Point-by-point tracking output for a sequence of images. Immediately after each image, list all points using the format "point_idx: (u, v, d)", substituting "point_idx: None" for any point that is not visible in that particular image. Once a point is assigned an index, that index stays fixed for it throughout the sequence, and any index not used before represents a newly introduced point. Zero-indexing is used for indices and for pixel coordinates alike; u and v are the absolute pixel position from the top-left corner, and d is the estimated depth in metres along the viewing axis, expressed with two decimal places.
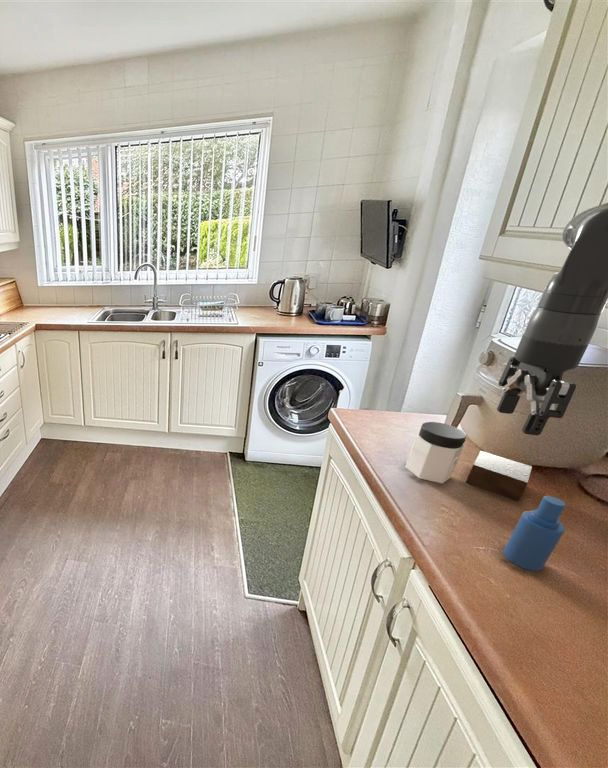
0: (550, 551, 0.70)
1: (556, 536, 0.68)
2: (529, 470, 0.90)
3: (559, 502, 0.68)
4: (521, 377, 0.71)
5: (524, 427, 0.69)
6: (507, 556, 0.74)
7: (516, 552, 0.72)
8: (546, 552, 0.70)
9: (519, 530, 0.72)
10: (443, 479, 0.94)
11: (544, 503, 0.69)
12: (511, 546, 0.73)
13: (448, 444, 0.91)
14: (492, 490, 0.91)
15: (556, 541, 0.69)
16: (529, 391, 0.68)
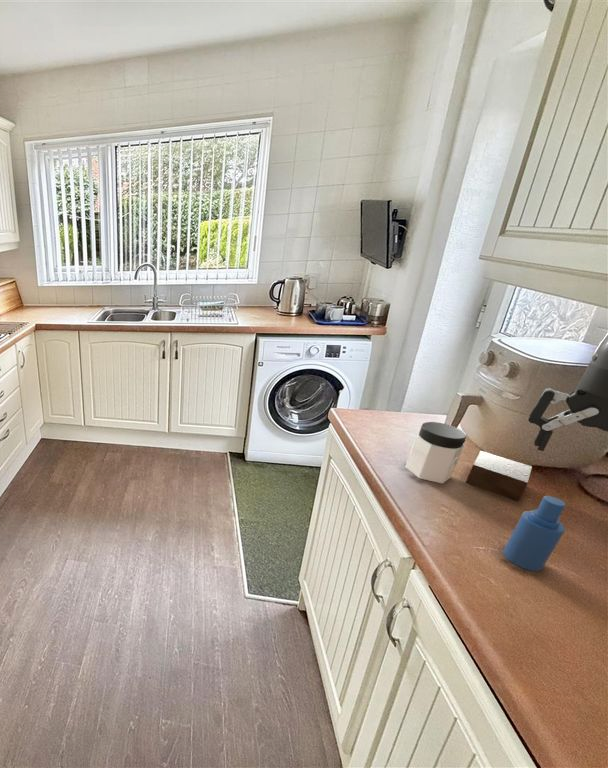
0: (550, 551, 0.70)
1: (556, 536, 0.68)
2: (529, 470, 0.90)
3: (559, 502, 0.68)
4: None
5: None
6: (507, 556, 0.74)
7: (516, 552, 0.72)
8: (546, 552, 0.70)
9: (519, 530, 0.72)
10: (443, 479, 0.94)
11: (544, 503, 0.69)
12: (511, 546, 0.73)
13: (448, 444, 0.91)
14: (492, 490, 0.91)
15: (556, 541, 0.69)
16: None
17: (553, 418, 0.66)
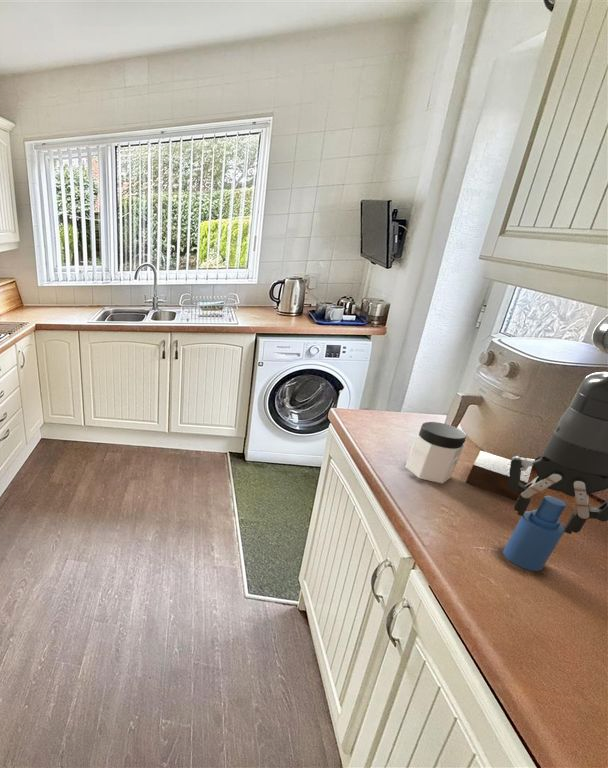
0: (550, 551, 0.70)
1: (556, 536, 0.68)
2: (529, 470, 0.90)
3: (559, 502, 0.68)
4: None
5: (570, 529, 0.67)
6: (507, 556, 0.74)
7: (516, 552, 0.72)
8: (546, 552, 0.70)
9: (520, 530, 0.72)
10: (443, 479, 0.94)
11: (544, 503, 0.69)
12: (511, 546, 0.73)
13: (448, 444, 0.91)
14: (492, 490, 0.91)
15: (556, 541, 0.69)
16: (581, 497, 0.65)
17: (529, 485, 0.71)
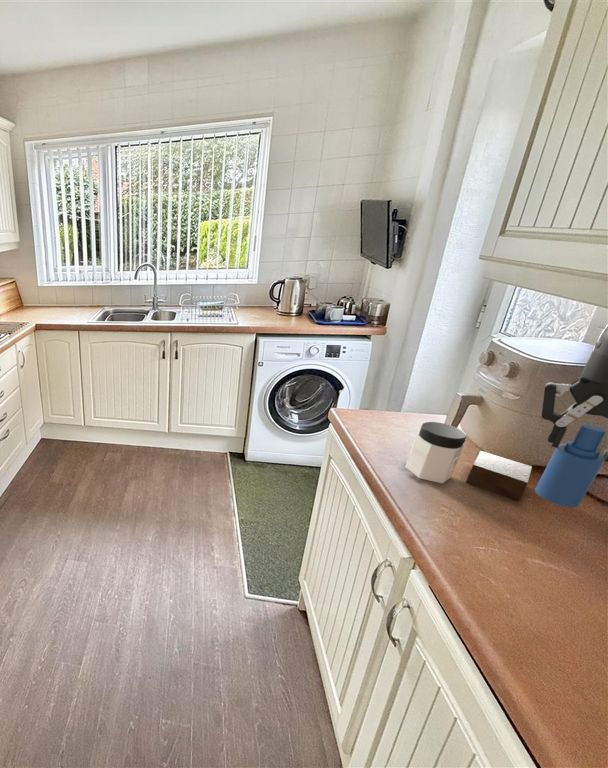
0: (589, 483, 0.64)
1: (596, 466, 0.63)
2: (529, 470, 0.90)
3: (599, 428, 0.63)
4: None
5: None
6: (540, 493, 0.69)
7: (551, 488, 0.67)
8: (584, 485, 0.64)
9: (554, 463, 0.66)
10: (443, 479, 0.94)
11: (582, 431, 0.64)
12: (544, 482, 0.68)
13: (448, 444, 0.91)
14: (492, 490, 0.91)
15: (596, 472, 0.63)
16: None
17: (564, 413, 0.66)
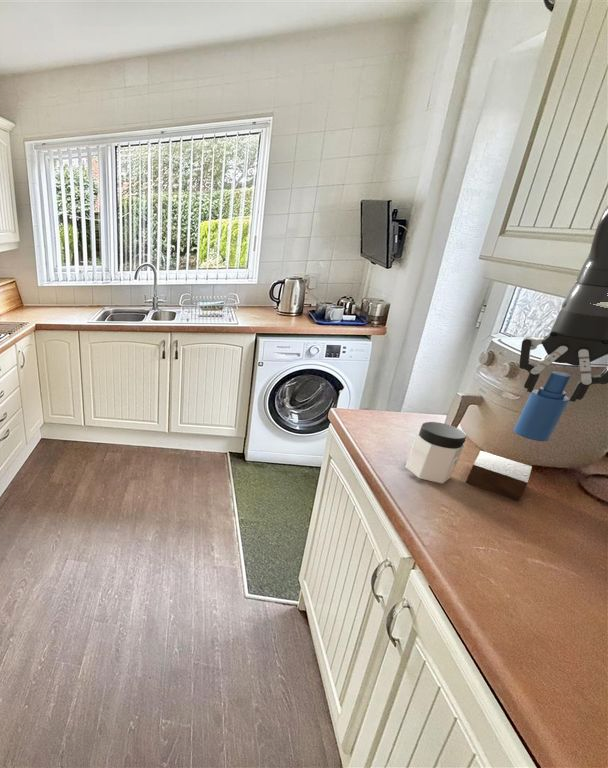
0: (556, 420, 0.78)
1: (562, 405, 0.77)
2: (529, 470, 0.90)
3: (565, 374, 0.77)
4: None
5: (574, 397, 0.76)
6: (517, 432, 0.82)
7: (526, 426, 0.81)
8: (553, 421, 0.78)
9: (529, 405, 0.80)
10: (443, 479, 0.94)
11: (551, 377, 0.77)
12: (521, 421, 0.82)
13: (448, 444, 0.91)
14: (492, 490, 0.91)
15: (562, 410, 0.77)
16: (585, 364, 0.73)
17: (537, 363, 0.79)
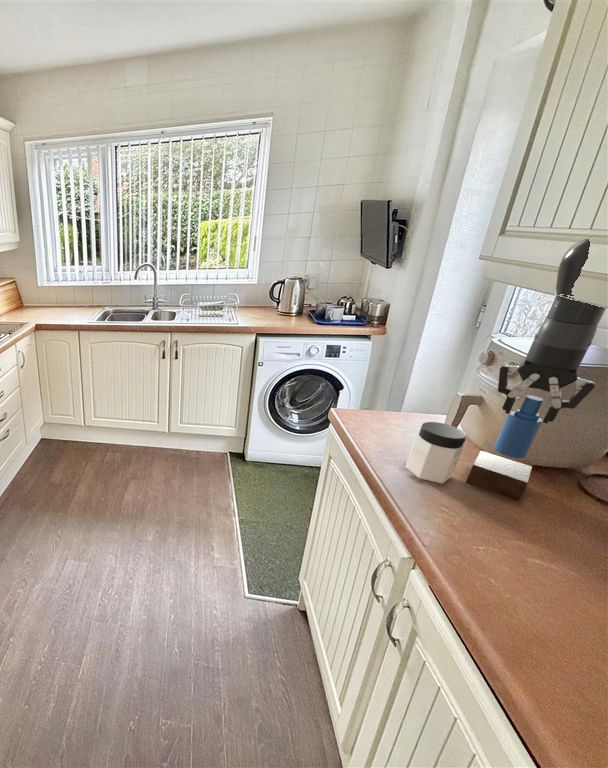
0: (531, 439, 0.86)
1: (536, 426, 0.85)
2: (529, 470, 0.90)
3: (538, 398, 0.85)
4: None
5: (546, 419, 0.84)
6: (497, 449, 0.91)
7: (504, 444, 0.89)
8: (528, 440, 0.86)
9: (507, 425, 0.88)
10: (443, 479, 0.94)
11: (526, 400, 0.86)
12: (500, 440, 0.90)
13: (448, 444, 0.91)
14: (492, 490, 0.91)
15: (536, 431, 0.86)
16: (555, 390, 0.82)
17: (514, 388, 0.88)
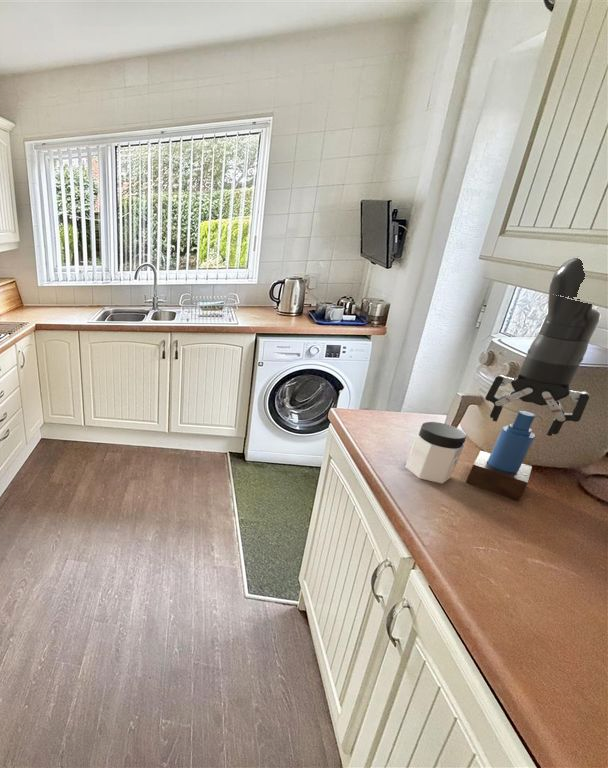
0: (524, 454, 0.88)
1: (528, 441, 0.87)
2: (529, 470, 0.90)
3: (530, 414, 0.86)
4: None
5: (551, 431, 0.84)
6: (490, 463, 0.92)
7: (497, 458, 0.91)
8: (520, 455, 0.88)
9: (500, 440, 0.90)
10: (443, 479, 0.94)
11: (519, 416, 0.87)
12: (493, 454, 0.92)
13: (448, 444, 0.91)
14: (492, 490, 0.91)
15: (528, 445, 0.87)
16: (552, 404, 0.82)
17: (503, 397, 0.90)
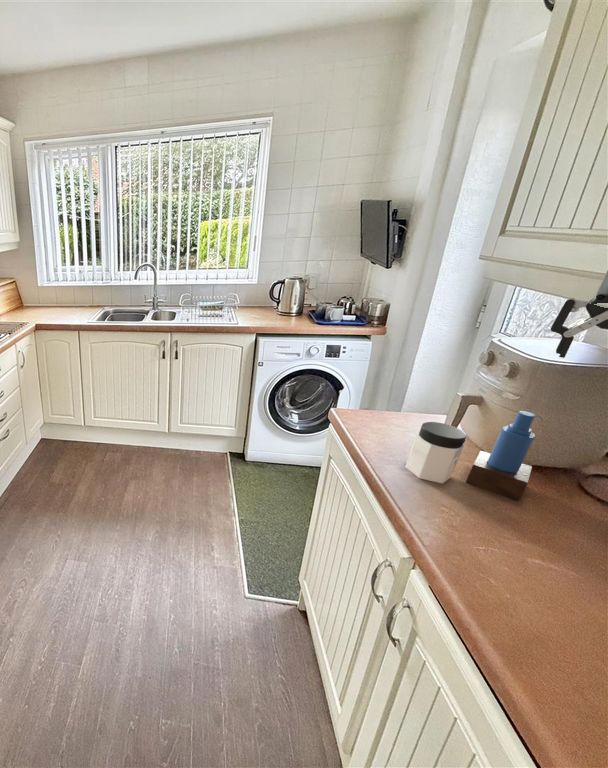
0: (524, 454, 0.88)
1: (528, 441, 0.87)
2: (529, 470, 0.90)
3: (530, 414, 0.86)
4: None
5: None
6: (490, 463, 0.92)
7: (497, 458, 0.91)
8: (520, 455, 0.88)
9: (500, 440, 0.90)
10: (443, 479, 0.94)
11: (519, 416, 0.87)
12: (493, 454, 0.92)
13: (448, 444, 0.91)
14: (492, 490, 0.91)
15: (528, 446, 0.87)
16: None
17: (573, 326, 0.73)
